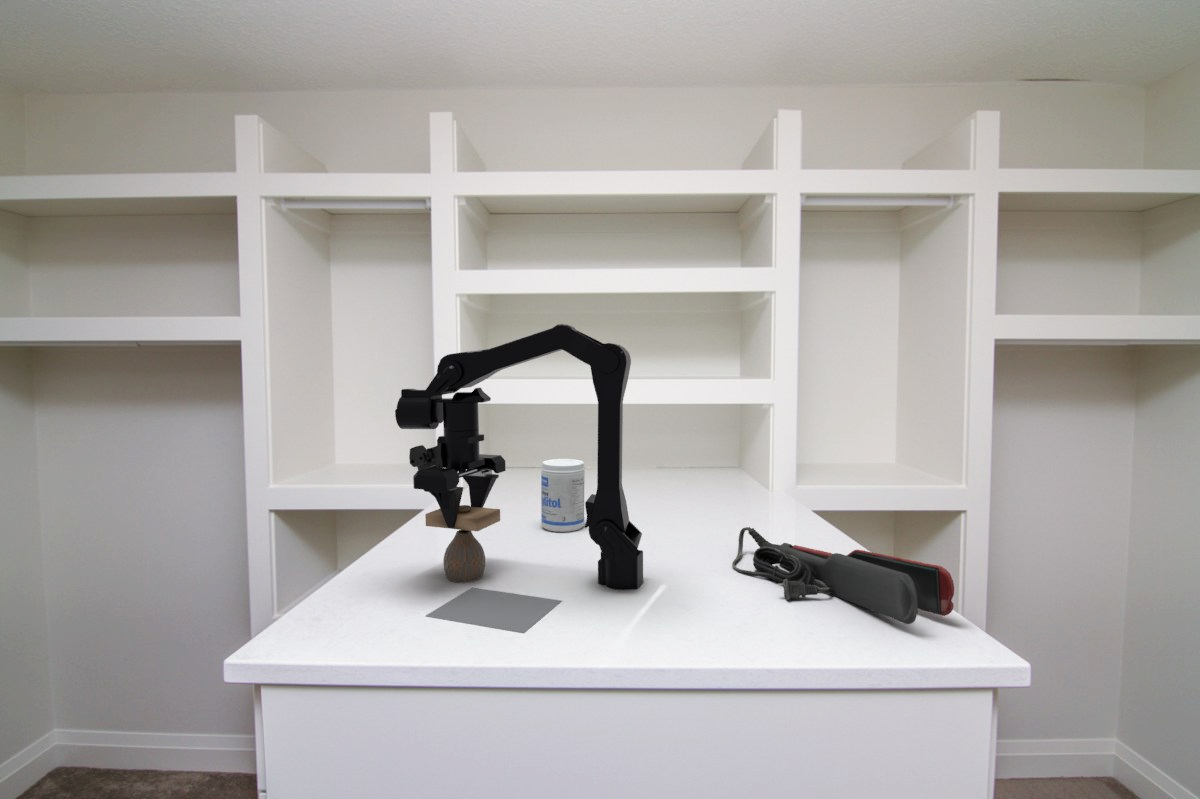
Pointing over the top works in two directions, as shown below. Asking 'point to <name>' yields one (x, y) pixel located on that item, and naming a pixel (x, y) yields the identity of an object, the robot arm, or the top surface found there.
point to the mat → (495, 609)
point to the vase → (464, 558)
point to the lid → (466, 518)
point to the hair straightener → (855, 578)
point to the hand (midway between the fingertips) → (463, 522)
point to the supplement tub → (562, 495)
